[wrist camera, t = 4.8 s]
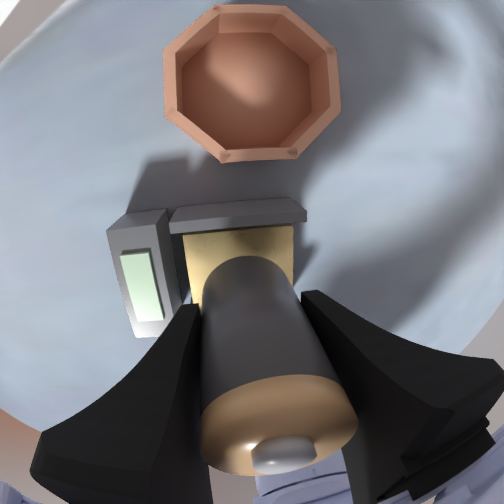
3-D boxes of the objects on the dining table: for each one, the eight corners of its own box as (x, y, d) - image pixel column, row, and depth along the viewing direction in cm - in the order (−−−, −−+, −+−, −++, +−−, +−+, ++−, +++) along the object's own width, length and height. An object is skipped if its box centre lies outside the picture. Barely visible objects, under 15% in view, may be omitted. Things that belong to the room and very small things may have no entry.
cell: (289, 325, 12) (345, 469, 6) (208, 335, 12) (214, 492, 5) (290, 251, 11) (384, 399, 4) (196, 260, 10) (182, 435, 4)
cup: (319, 156, 14) (343, 160, 11) (177, 164, 13) (168, 169, 11) (311, 31, 11) (332, 11, 8) (171, 33, 10) (163, 10, 8)
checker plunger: (289, 293, 15) (292, 300, 15) (195, 303, 15) (195, 311, 14) (289, 221, 14) (293, 225, 13) (184, 230, 13) (182, 235, 13)
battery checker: (289, 293, 17) (304, 324, 14) (146, 307, 16) (135, 339, 13) (289, 197, 15) (308, 211, 12) (125, 213, 14) (104, 231, 11)
